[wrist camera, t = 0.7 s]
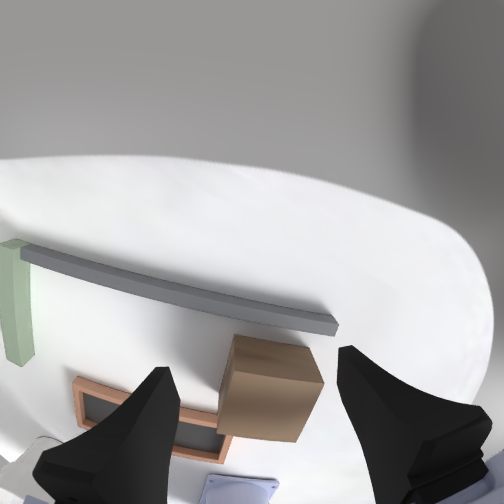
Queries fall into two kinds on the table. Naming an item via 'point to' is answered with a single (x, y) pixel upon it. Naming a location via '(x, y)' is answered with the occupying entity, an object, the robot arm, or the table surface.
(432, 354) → the table surface
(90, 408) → the trap pits
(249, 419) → the walnut block
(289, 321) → the hook tool
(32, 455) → the cup
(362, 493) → the table surface
